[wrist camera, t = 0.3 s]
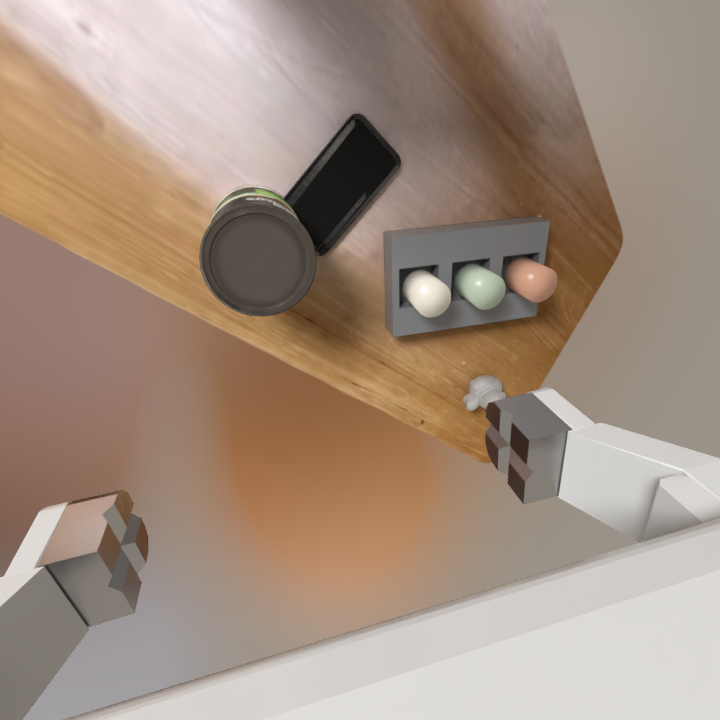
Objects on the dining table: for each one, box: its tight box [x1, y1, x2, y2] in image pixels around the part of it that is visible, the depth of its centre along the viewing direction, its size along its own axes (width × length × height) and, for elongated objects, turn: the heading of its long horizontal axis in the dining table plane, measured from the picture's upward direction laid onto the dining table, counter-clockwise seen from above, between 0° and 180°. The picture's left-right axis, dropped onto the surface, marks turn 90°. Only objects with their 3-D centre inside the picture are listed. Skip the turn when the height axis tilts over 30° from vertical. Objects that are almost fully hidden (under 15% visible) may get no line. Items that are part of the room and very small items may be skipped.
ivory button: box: [402, 270, 451, 318], centre depth 54 cm, size 4×4×5 cm
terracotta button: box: [504, 257, 558, 302], centre depth 56 cm, size 4×4×5 cm
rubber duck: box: [463, 375, 506, 411], centre depth 66 cm, size 5×7×8 cm
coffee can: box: [199, 186, 316, 316], centre depth 46 cm, size 10×10×14 cm
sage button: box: [454, 263, 506, 310], centre depth 55 cm, size 4×4×5 cm
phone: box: [284, 114, 401, 256], centre depth 52 cm, size 8×1×15 cm
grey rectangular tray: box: [383, 216, 550, 337], centre depth 59 cm, size 13×21×4 cm, turn 93°
